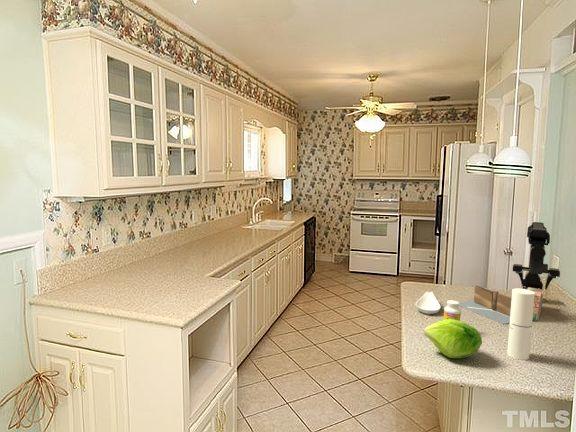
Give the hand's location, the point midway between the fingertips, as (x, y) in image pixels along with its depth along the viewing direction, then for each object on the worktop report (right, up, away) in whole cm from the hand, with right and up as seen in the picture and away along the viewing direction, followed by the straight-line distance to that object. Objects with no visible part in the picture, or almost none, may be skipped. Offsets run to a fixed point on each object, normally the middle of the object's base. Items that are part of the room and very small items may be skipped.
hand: (534, 287), depth 183 cm
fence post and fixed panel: (-11, -14, +4) cm, 18 cm away
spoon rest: (-46, -13, +13) cm, 49 cm away
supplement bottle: (-46, -16, -15) cm, 51 cm away
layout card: (-16, -13, +9) cm, 23 cm away
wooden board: (-16, -12, +16) cm, 26 cm away
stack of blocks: (+4, -14, +7) cm, 16 cm away
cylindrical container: (-30, -19, -37) cm, 52 cm away
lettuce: (-55, -18, -37) cm, 69 cm away
